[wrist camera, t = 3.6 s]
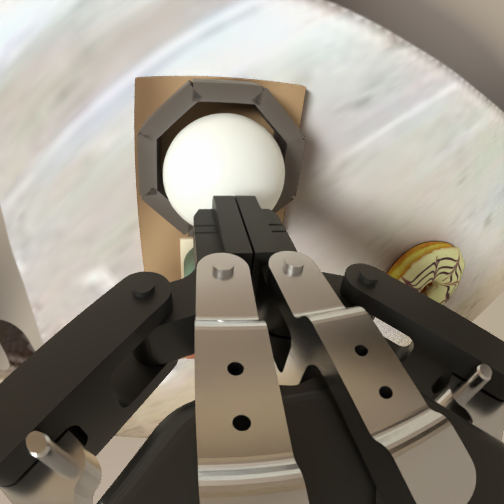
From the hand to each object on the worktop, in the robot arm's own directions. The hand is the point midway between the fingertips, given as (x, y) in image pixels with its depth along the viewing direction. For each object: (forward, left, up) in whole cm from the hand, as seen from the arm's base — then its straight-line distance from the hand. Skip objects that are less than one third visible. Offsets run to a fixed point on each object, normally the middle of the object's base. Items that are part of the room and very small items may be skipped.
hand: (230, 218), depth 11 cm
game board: (0, +8, -9) cm, 12 cm away
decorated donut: (-22, +12, -10) cm, 27 cm away
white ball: (0, 0, -7) cm, 8 cm away
